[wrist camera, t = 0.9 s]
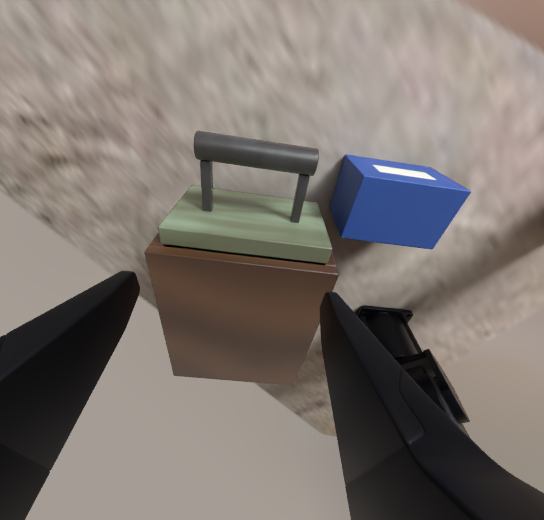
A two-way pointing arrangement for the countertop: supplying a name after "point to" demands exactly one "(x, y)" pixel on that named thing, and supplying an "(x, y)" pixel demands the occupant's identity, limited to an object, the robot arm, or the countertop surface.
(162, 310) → the cabinet
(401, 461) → the robot arm
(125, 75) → the countertop surface
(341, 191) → the block
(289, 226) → the drawer
